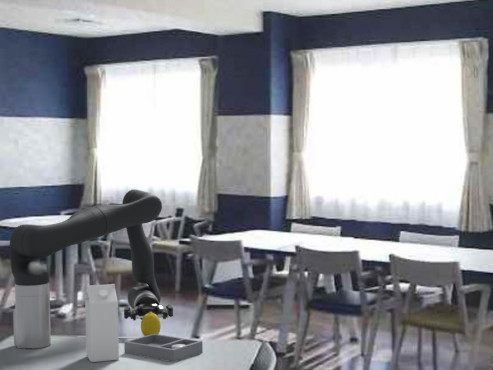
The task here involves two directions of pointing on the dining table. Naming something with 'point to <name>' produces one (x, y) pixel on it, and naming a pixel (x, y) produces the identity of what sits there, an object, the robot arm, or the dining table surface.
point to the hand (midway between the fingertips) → (149, 316)
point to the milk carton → (101, 323)
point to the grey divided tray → (163, 347)
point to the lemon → (150, 324)
